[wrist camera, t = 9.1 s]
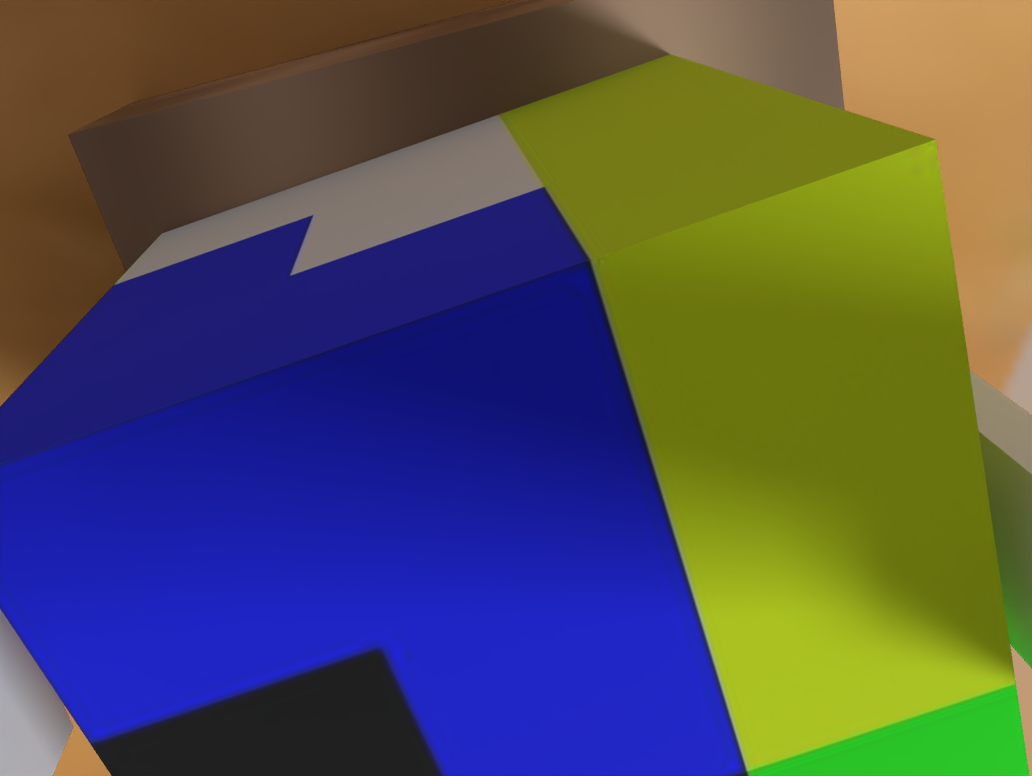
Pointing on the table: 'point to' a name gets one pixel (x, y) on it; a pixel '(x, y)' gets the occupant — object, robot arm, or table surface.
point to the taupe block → (418, 97)
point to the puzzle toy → (531, 463)
